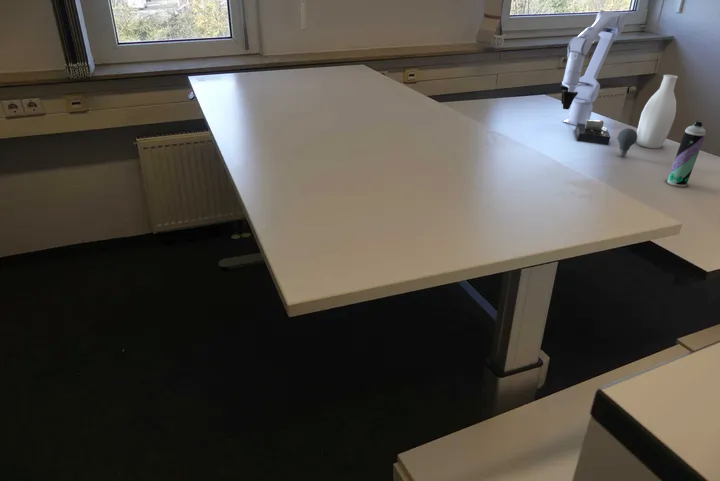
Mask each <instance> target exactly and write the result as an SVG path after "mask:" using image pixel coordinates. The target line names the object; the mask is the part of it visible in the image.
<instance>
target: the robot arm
mask: <svg viewBox="0 0 720 481" xmlns="http://www.w3.org/2000/svg"><path fill="white" fill-rule="evenodd" d="M626 21H627V15H626V12H618V11H610V10H601V9H600V10H599V12H597V15H596V17H595V20H594V23H593V24H592V25H591V26H588V27H586V28H585V29H584V30H583V31H582V32H581V33H580V34H579V35H578V36H574V37H572V38H571V39H570V40H569V42H568V44H567V54H566V57H567V62H566V66H565V70H564V74H563V80H562V81H561V84H560V90H561V105H562V109H563V110H569V113H568V117H567V119H564V120H563V123H567V124H570V125H573V126H576V125H577V123H580V124H586V122H587V119H588V120H591V116H592V112H593V108H594V107H593V106H594V105H593V104H594V102H595V101H596V100H597V99H598V96H599V91H600V89H601V84H600V83H599V81H598V80H597V79H598V76H599V74H600V72H601V69H602V67H603V65H604V62H605V60H606V58H607V56H608V53H609V52H610V49H611V47H612V45H613V42H614V40H616V39H618V38H620V36H621V34H622V32H623V29H624V28H625V25H626V23H627V22H626ZM599 37H600V39H599ZM598 39H599V41H598V43H597V45H596V48H595V50H594V52H593V54H592V57H591V59H590V61H589V63H588V65H587V68H586V71H585V72H584V75H582V70H583V66H584V62H585V58H586V55H588V53H589V52H590V50H591V47H592V45H593V44H594V43H595V42H596V41H597V40H598ZM581 75H582V76H581Z"/></svg>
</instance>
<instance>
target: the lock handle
mask: <svg viewBox="0 0 720 481" xmlns="http://www.w3.org/2000/svg"><path fill="white" fill-rule="evenodd" d="M604 123H605V121H604V120H601V119H600V120H594V119H590V120H588V119H587V122H586V125H585V129H588V130H596V131H602V128H603V126H604Z"/></svg>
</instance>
